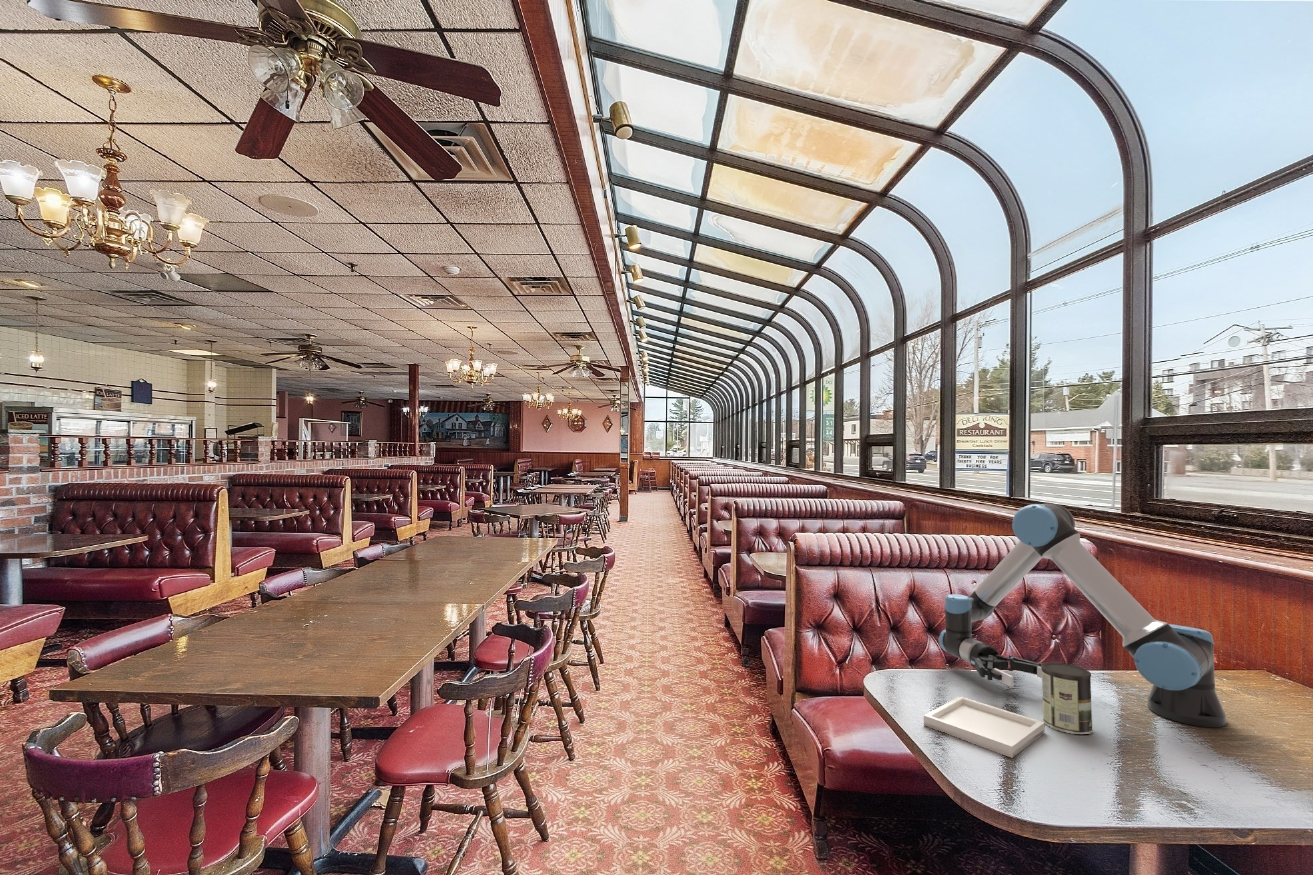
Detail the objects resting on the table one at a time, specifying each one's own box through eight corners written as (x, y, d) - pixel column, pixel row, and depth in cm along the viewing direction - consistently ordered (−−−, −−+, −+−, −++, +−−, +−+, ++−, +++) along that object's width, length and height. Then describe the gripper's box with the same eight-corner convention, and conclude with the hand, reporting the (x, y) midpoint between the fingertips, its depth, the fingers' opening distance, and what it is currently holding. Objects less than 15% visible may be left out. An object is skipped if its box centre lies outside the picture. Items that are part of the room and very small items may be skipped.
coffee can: (1079, 719, 147) (1077, 663, 148) (1101, 737, 137) (1100, 677, 138) (1035, 715, 149) (1033, 660, 150) (1054, 733, 139) (1052, 674, 140)
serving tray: (1044, 732, 139) (1044, 722, 140) (1012, 757, 127) (1012, 746, 127) (960, 705, 155) (959, 696, 155) (923, 725, 143) (923, 715, 143)
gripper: (1016, 665, 176) (1076, 692, 155) (942, 669, 172) (993, 697, 151) (1016, 641, 176) (1075, 664, 155) (942, 643, 173) (992, 668, 152)
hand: (1035, 680), depth 153 cm, fingers open, 13 cm apart
